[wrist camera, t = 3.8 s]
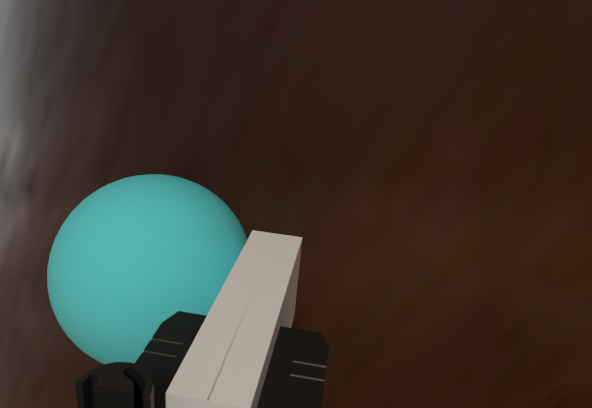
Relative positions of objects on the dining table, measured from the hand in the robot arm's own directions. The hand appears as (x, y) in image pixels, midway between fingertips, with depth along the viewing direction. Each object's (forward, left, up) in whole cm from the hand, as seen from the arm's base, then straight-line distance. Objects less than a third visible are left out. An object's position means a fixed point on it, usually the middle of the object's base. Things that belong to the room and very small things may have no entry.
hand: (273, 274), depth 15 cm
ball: (+4, 0, 0) cm, 4 cm away
